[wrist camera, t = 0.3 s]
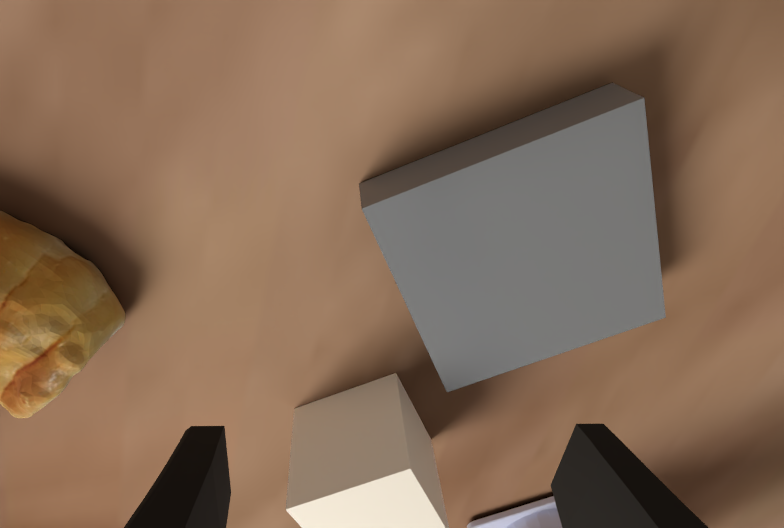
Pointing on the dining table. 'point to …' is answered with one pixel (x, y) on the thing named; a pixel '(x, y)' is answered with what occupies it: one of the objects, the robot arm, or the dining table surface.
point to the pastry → (47, 315)
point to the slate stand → (525, 236)
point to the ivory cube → (363, 462)
